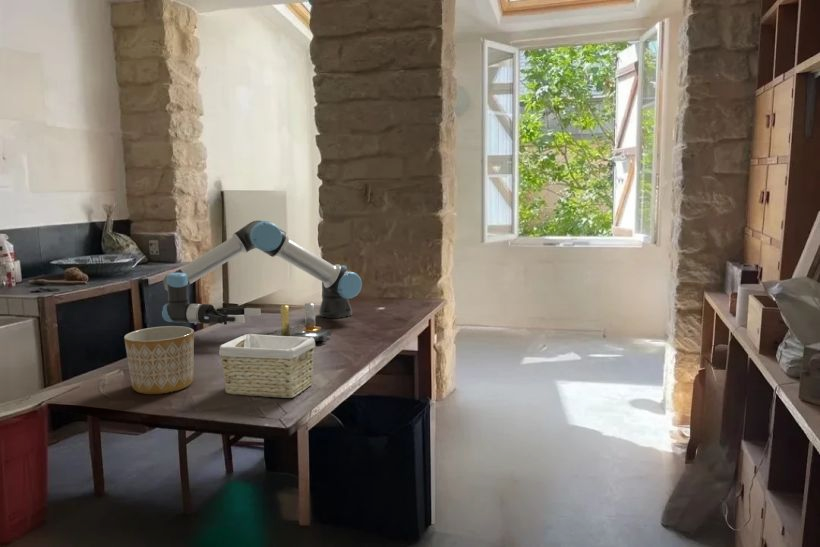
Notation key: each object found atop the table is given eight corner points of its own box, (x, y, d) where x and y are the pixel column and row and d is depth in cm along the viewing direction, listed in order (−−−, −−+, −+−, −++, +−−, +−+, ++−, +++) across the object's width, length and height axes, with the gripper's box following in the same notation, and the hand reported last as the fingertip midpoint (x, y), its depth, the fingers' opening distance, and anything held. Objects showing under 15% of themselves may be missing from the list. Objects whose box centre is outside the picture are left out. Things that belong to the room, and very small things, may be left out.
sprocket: (325, 328, 256) (324, 295, 254) (336, 341, 234) (334, 305, 232) (267, 333, 249) (266, 299, 247) (273, 347, 227) (271, 310, 225)
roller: (314, 327, 249) (313, 302, 248) (316, 329, 245) (315, 304, 244) (304, 328, 248) (303, 303, 247) (306, 330, 244) (305, 305, 243)
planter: (195, 393, 181) (192, 337, 179) (123, 400, 176) (119, 343, 174) (198, 374, 200) (195, 324, 197) (133, 380, 194) (129, 328, 192)
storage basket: (218, 395, 180) (215, 345, 178) (248, 378, 195) (246, 332, 193) (293, 402, 173) (291, 350, 171) (318, 384, 188) (316, 336, 186)
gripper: (218, 316, 255) (266, 318, 250) (184, 330, 231) (237, 332, 226) (217, 298, 254) (265, 300, 249) (183, 310, 230) (236, 312, 225)
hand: (252, 315), depth 238 cm, fingers open, 13 cm apart
